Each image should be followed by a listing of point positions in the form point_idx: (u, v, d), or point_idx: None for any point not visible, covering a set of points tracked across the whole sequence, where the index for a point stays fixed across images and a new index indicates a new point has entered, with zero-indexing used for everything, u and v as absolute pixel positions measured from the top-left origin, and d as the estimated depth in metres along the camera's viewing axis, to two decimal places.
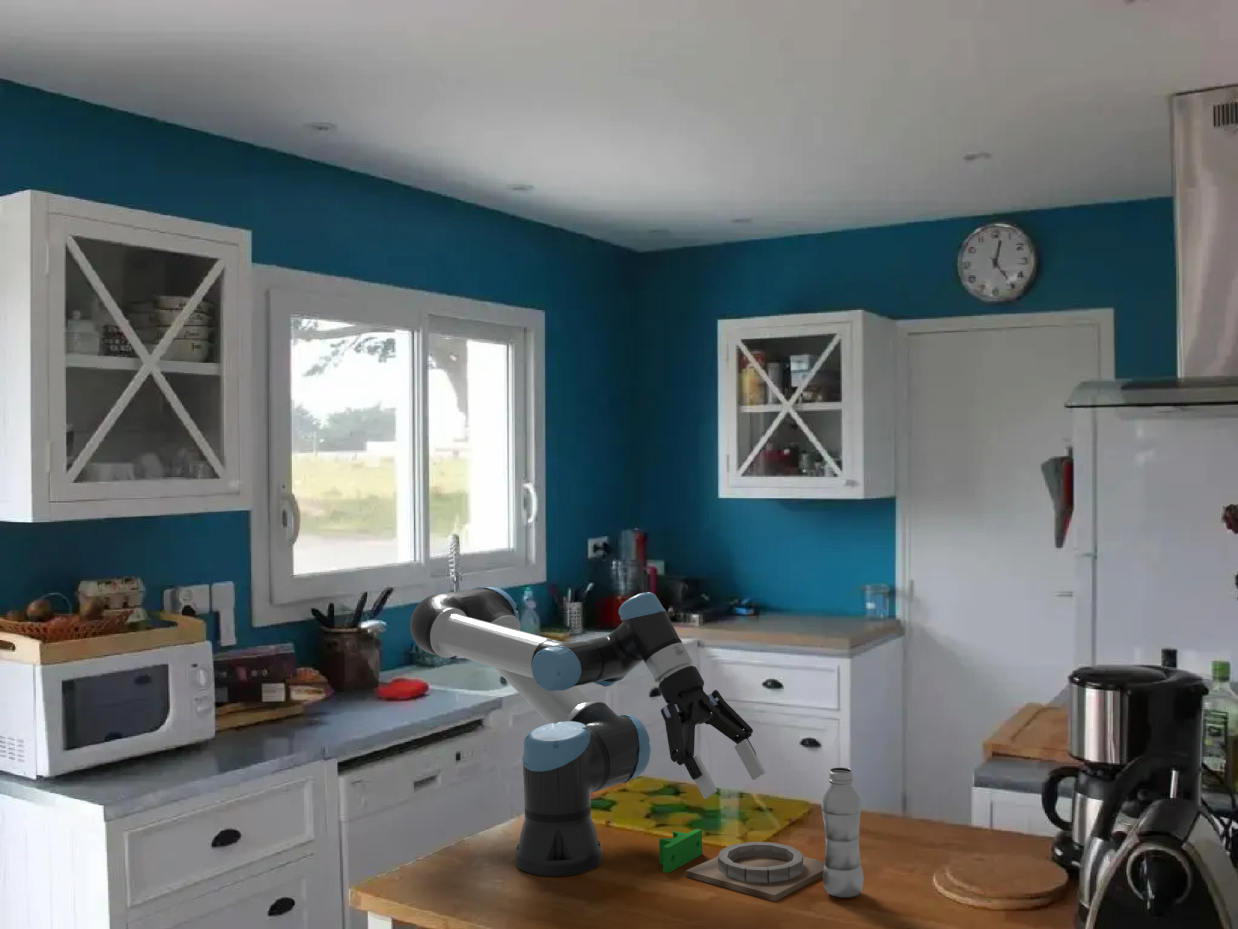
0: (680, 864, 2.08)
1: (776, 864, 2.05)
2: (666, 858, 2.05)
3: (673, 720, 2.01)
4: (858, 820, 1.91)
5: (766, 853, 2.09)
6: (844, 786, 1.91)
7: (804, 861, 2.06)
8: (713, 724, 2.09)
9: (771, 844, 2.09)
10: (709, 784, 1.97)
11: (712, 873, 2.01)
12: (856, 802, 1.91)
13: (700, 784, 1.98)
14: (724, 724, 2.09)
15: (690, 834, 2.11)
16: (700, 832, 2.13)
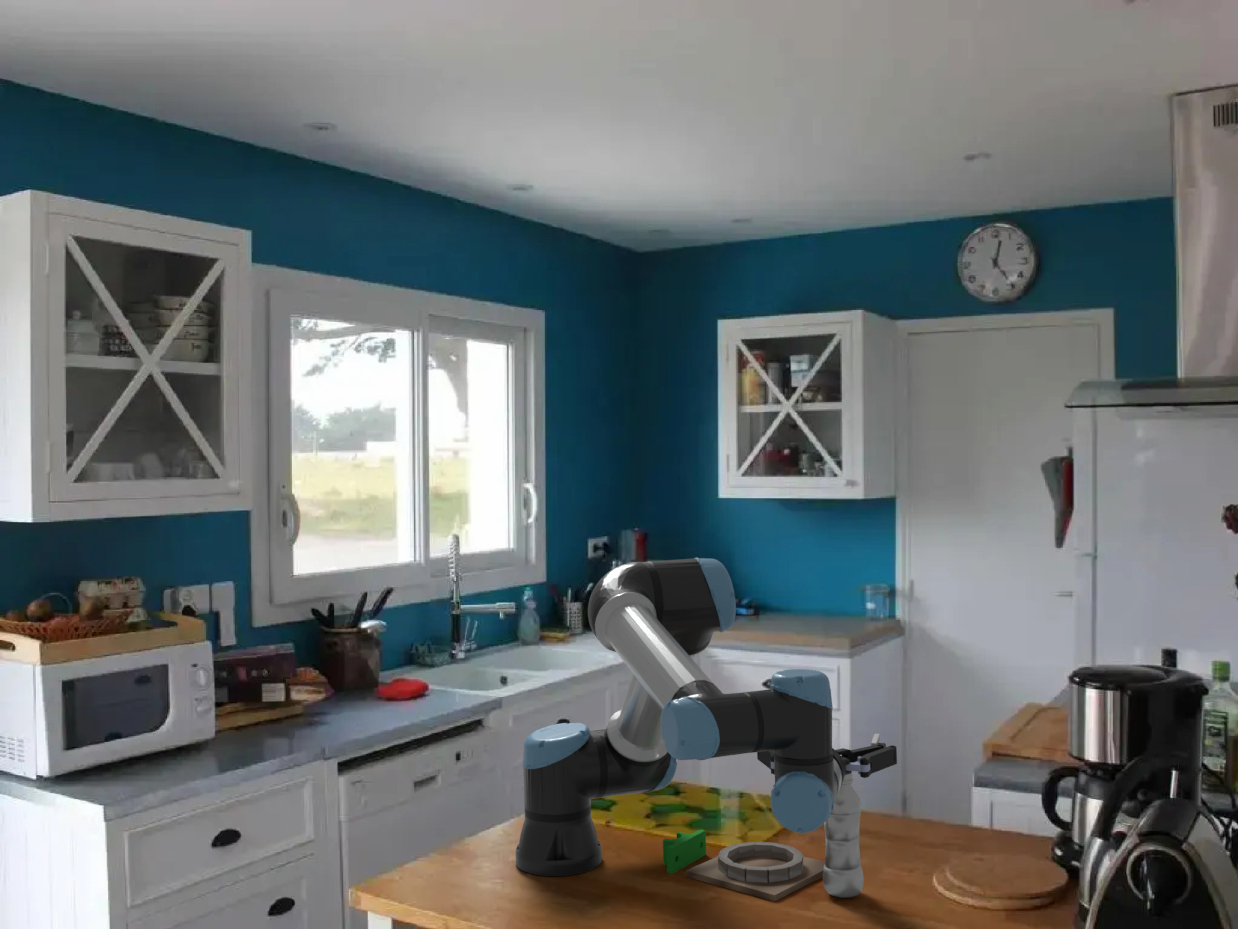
0: (684, 865, 2.07)
1: (776, 864, 2.05)
2: (670, 859, 2.05)
3: (769, 766, 1.73)
4: (858, 820, 1.91)
5: (766, 853, 2.09)
6: (844, 786, 1.91)
7: (804, 861, 2.06)
8: None
9: (771, 844, 2.09)
10: None
11: (712, 873, 2.01)
12: (856, 802, 1.91)
13: None
14: None
15: (694, 835, 2.11)
16: (704, 833, 2.13)
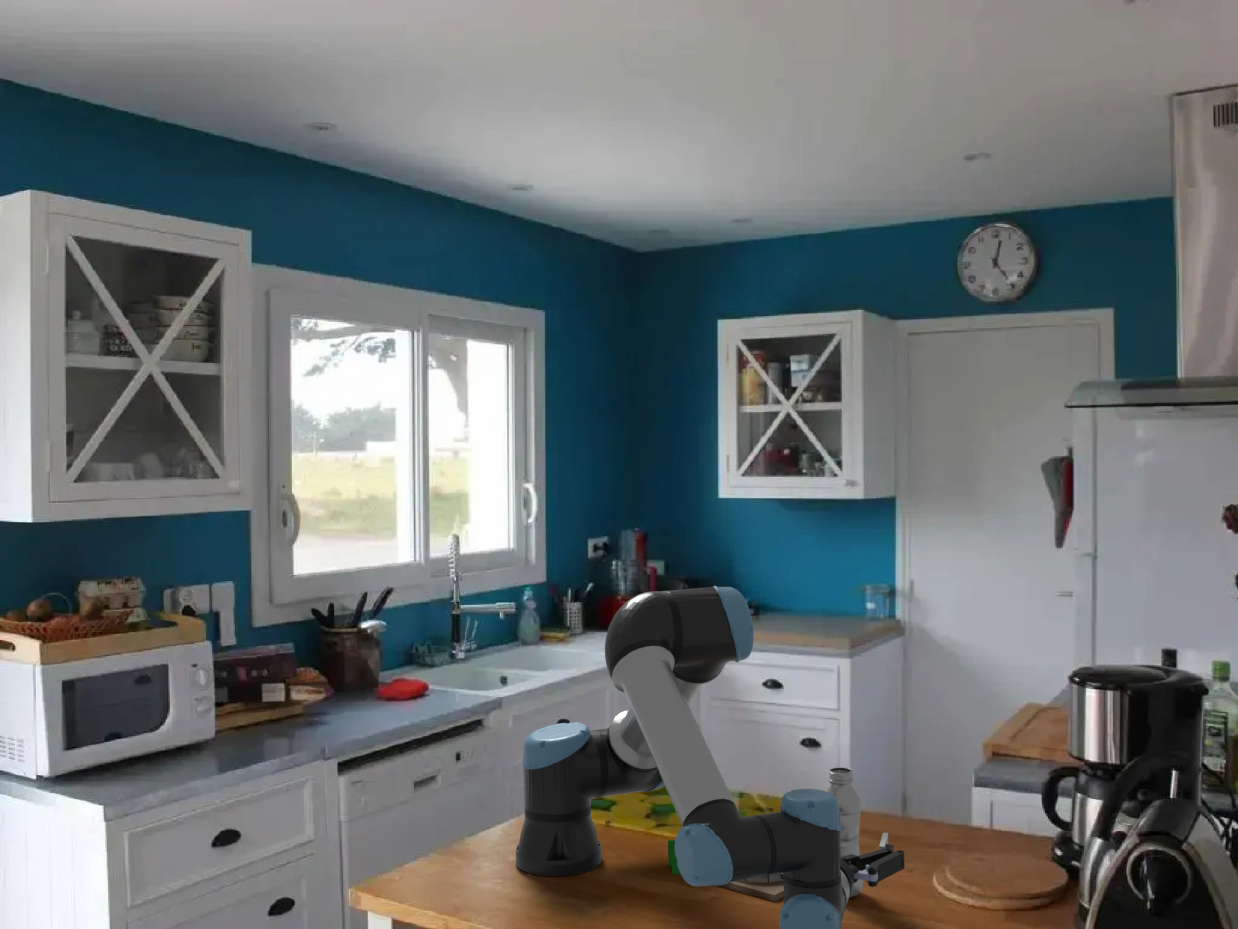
0: None
1: None
2: (675, 860, 2.04)
3: None
4: (858, 820, 1.91)
5: None
6: (844, 786, 1.91)
7: None
8: None
9: None
10: None
11: None
12: (856, 802, 1.91)
13: None
14: None
15: None
16: None
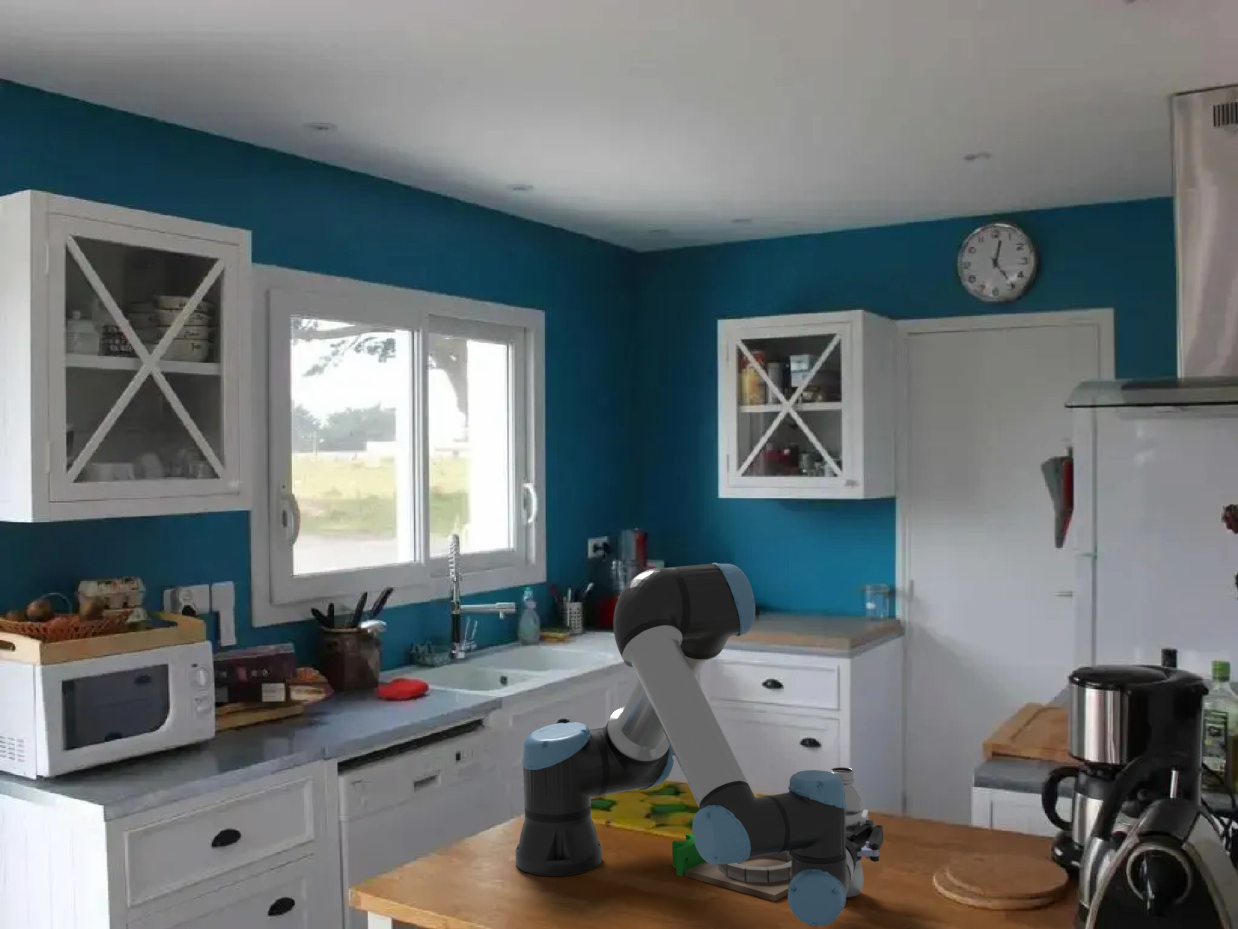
0: None
1: (776, 864, 2.05)
2: (679, 861, 2.03)
3: None
4: (859, 820, 1.91)
5: None
6: (845, 786, 1.91)
7: None
8: None
9: None
10: None
11: (712, 873, 2.01)
12: (857, 802, 1.91)
13: None
14: None
15: None
16: None
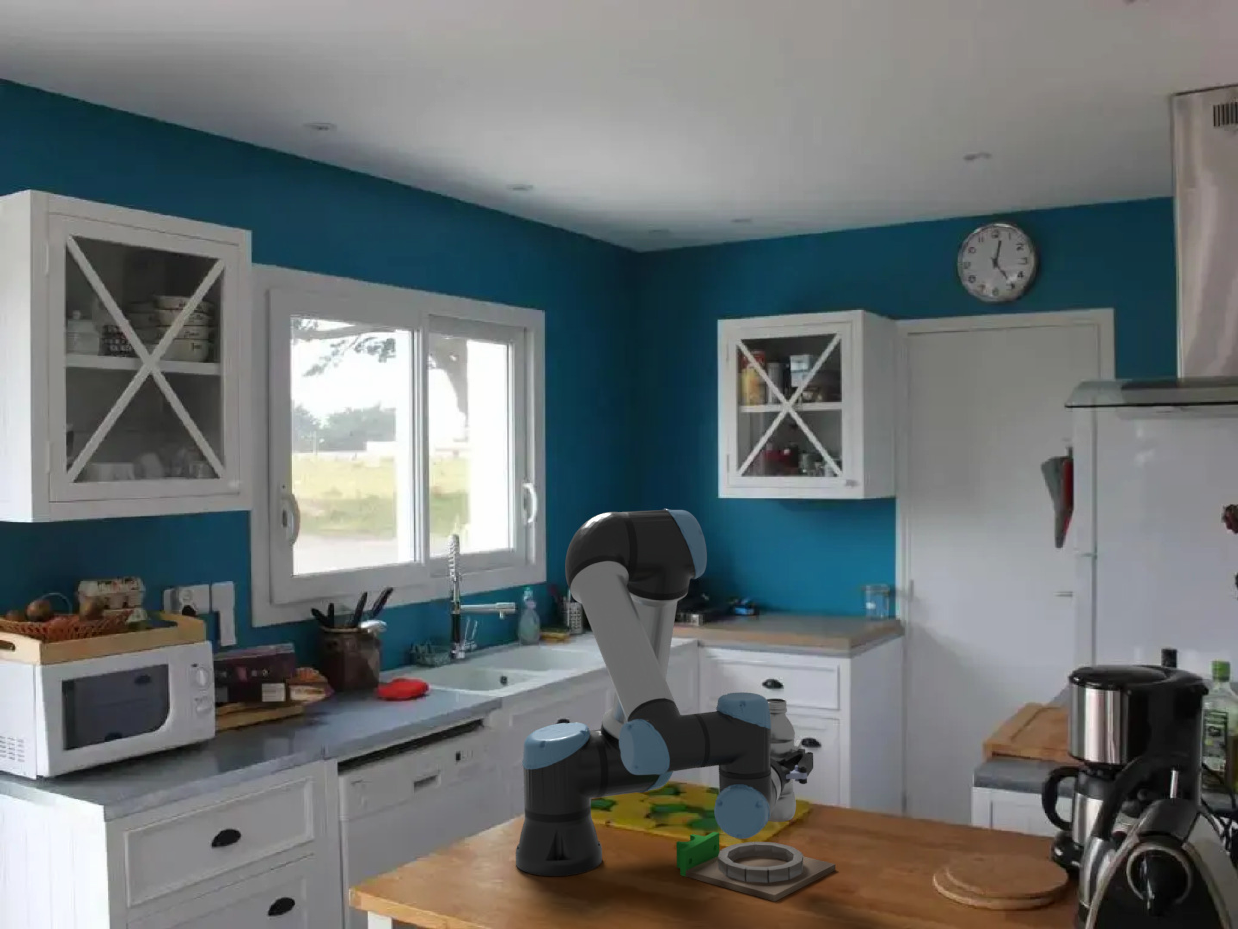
0: None
1: (776, 864, 2.05)
2: (683, 862, 2.03)
3: None
4: (791, 748, 1.99)
5: (766, 853, 2.09)
6: (778, 715, 1.99)
7: (804, 861, 2.06)
8: None
9: (771, 844, 2.09)
10: None
11: (712, 873, 2.01)
12: (789, 731, 1.98)
13: None
14: None
15: (707, 837, 2.09)
16: (717, 835, 2.12)
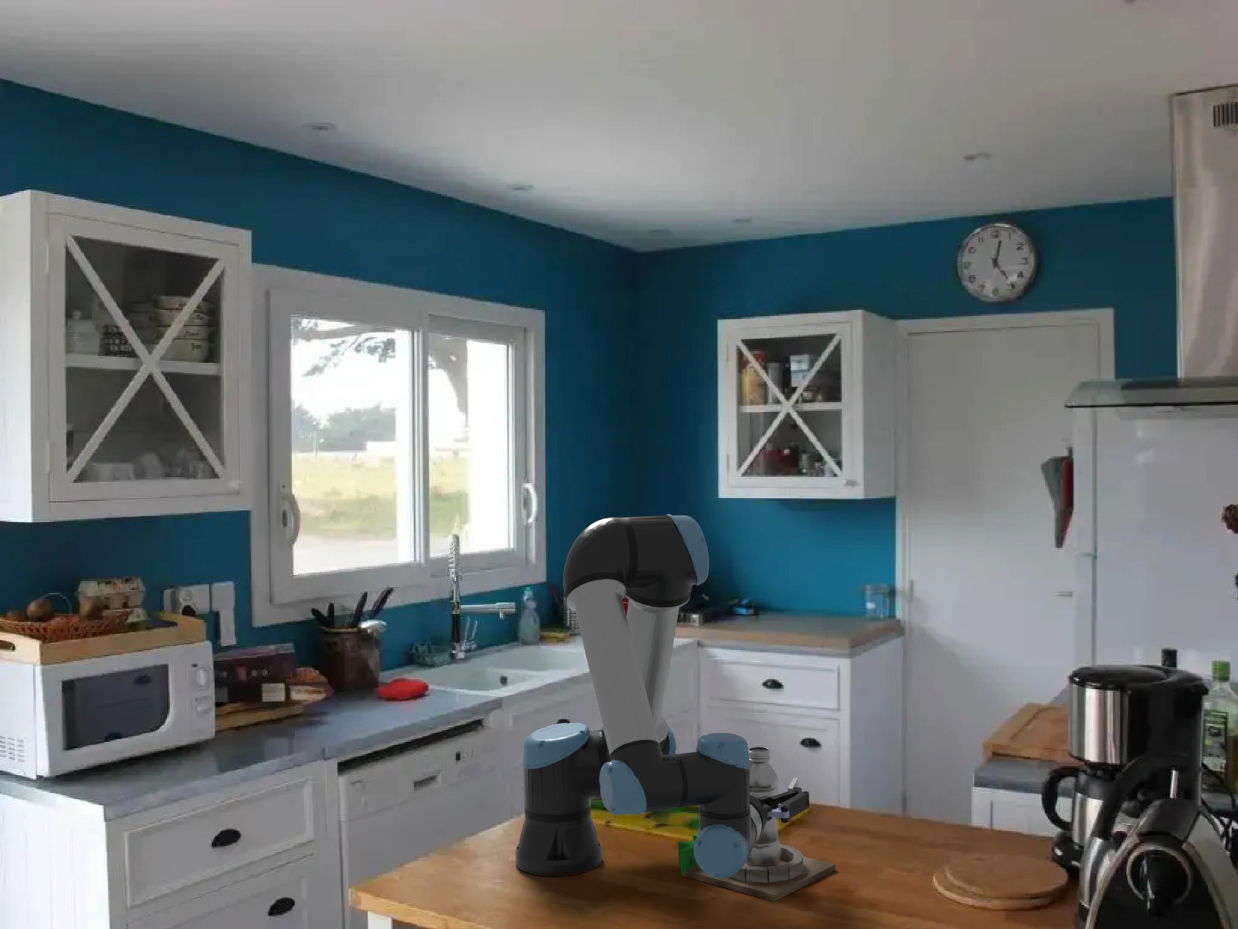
0: None
1: None
2: (684, 861, 2.03)
3: None
4: None
5: None
6: (761, 764, 2.01)
7: (804, 861, 2.06)
8: None
9: None
10: None
11: None
12: (773, 779, 2.01)
13: None
14: None
15: None
16: None
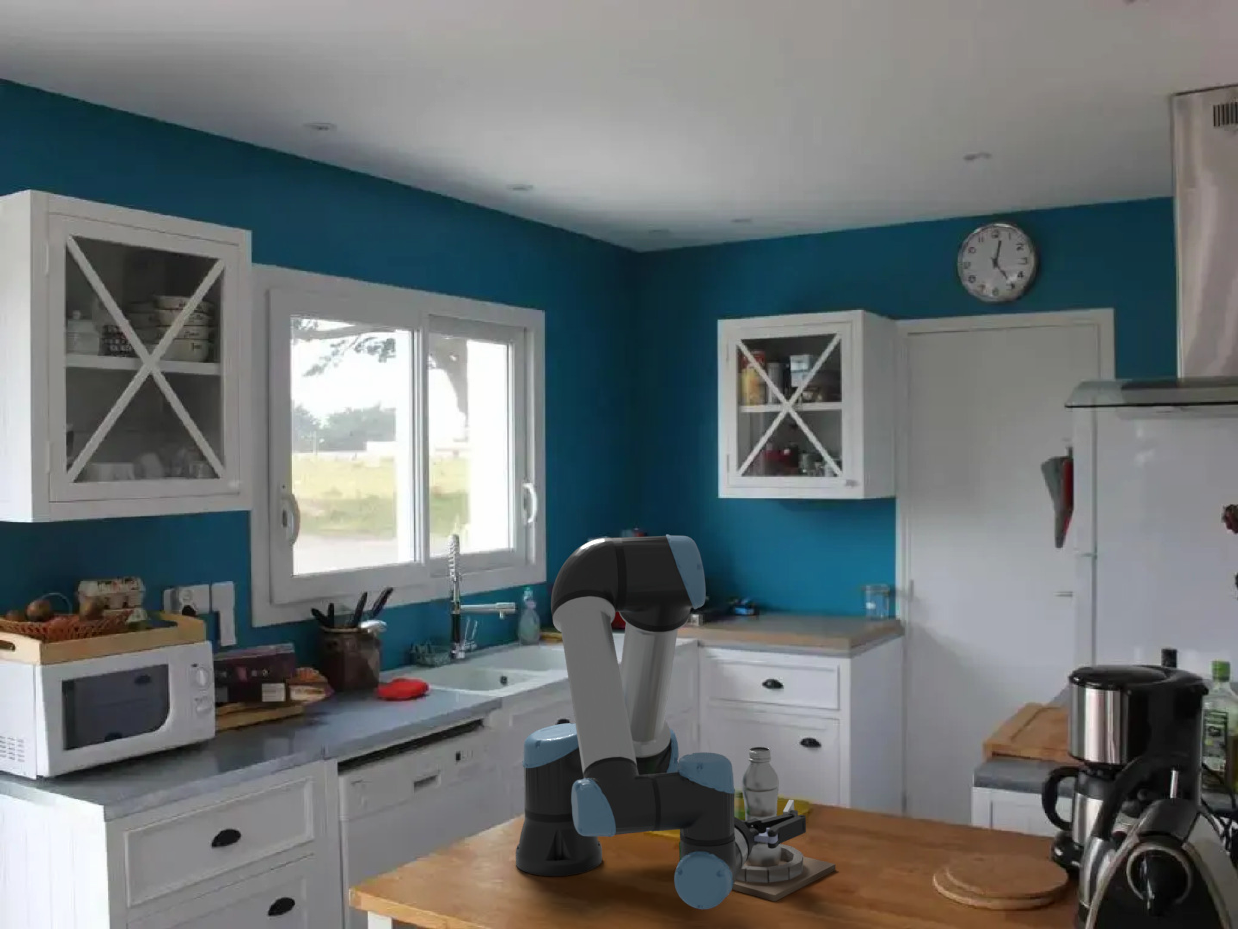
0: None
1: None
2: None
3: None
4: (775, 796, 2.01)
5: None
6: (762, 764, 2.01)
7: (804, 861, 2.06)
8: None
9: None
10: None
11: None
12: (773, 779, 2.01)
13: None
14: None
15: None
16: None
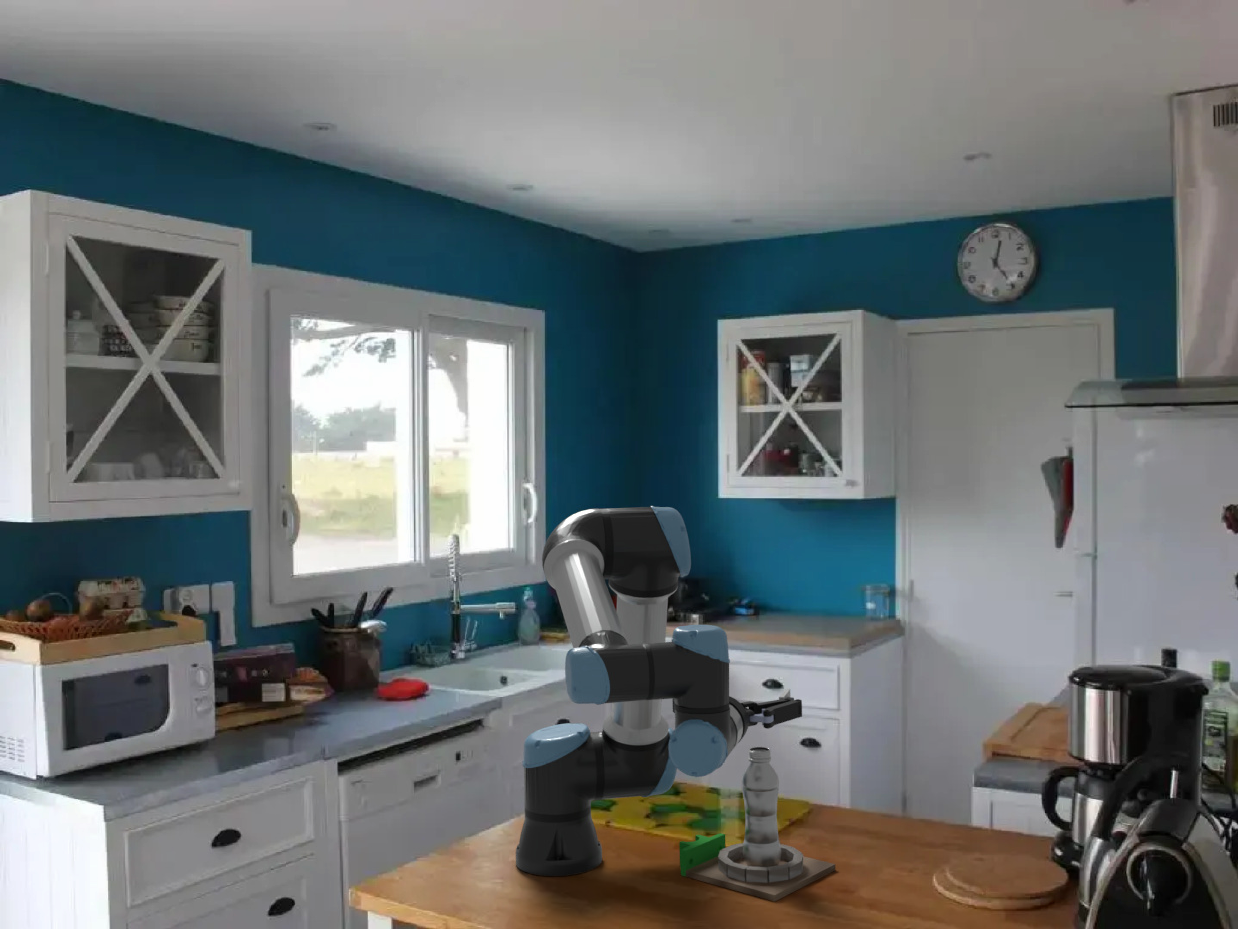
0: None
1: None
2: (683, 861, 2.03)
3: None
4: (775, 796, 2.01)
5: None
6: (762, 764, 2.01)
7: (804, 861, 2.06)
8: None
9: None
10: None
11: (712, 873, 2.01)
12: (773, 779, 2.01)
13: None
14: None
15: (712, 838, 2.09)
16: (723, 837, 2.11)
